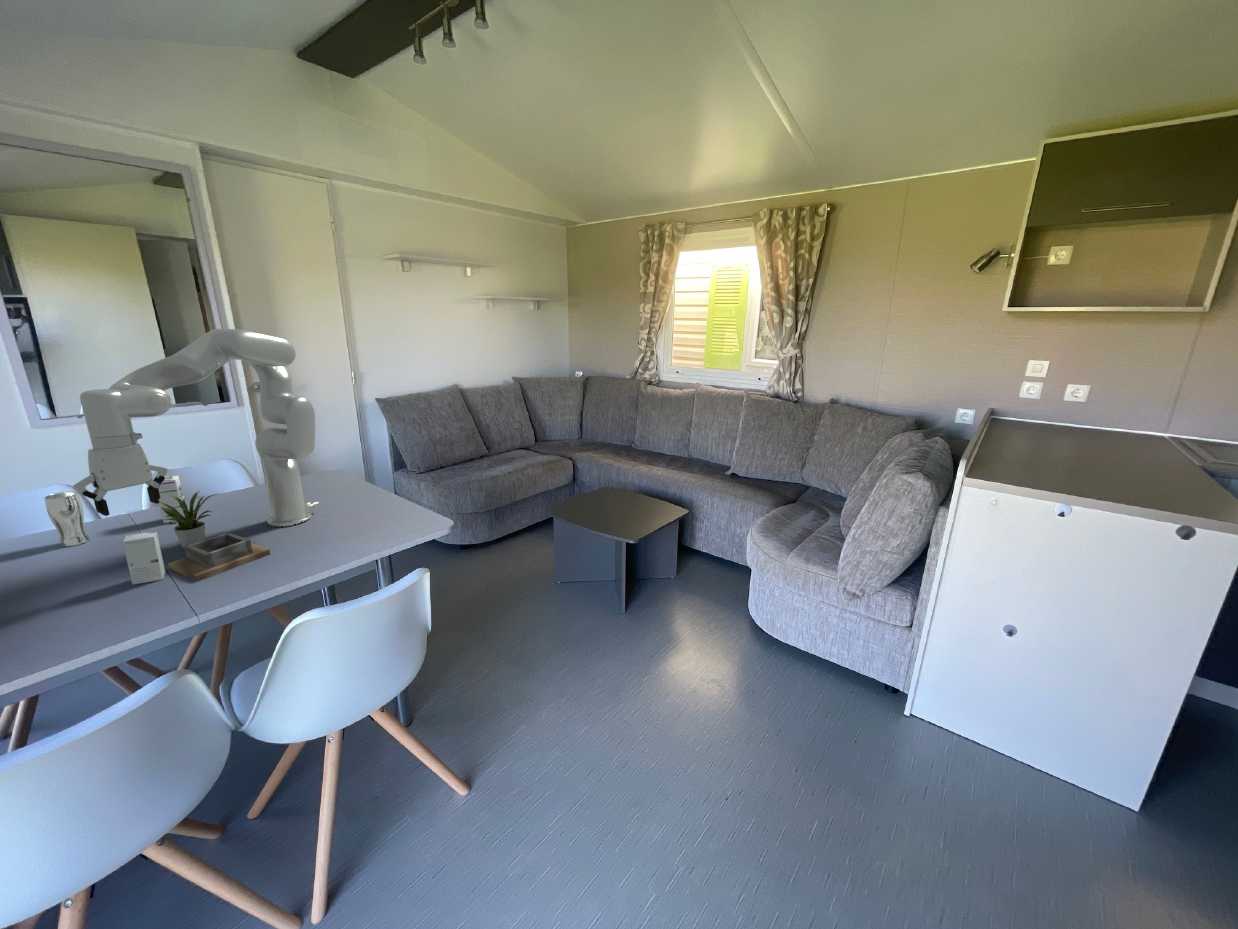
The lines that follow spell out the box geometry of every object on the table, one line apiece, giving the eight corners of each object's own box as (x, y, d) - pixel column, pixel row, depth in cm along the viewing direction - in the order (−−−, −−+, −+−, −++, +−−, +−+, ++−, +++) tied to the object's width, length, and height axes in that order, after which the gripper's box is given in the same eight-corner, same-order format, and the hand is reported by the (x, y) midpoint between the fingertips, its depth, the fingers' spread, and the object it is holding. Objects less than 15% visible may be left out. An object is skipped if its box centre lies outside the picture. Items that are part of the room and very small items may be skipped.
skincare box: (132, 585, 127) (120, 541, 123) (136, 578, 130) (124, 535, 127) (164, 579, 130) (153, 536, 126) (167, 572, 133) (156, 530, 130)
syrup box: (186, 520, 166) (176, 479, 162) (162, 524, 163) (152, 481, 159) (188, 514, 170) (179, 474, 166) (165, 518, 167) (155, 477, 163)
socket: (242, 543, 151) (238, 526, 149) (270, 554, 145) (267, 536, 143) (169, 568, 135) (165, 550, 134) (197, 581, 129) (193, 562, 128)
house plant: (224, 530, 160) (214, 481, 155) (232, 544, 150) (222, 493, 146) (165, 542, 150) (153, 491, 145) (169, 558, 141) (156, 504, 136)
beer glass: (96, 540, 150) (83, 493, 146) (64, 549, 144) (49, 500, 140) (85, 535, 153) (71, 489, 149) (53, 544, 147) (38, 496, 142)
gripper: (151, 433, 129) (165, 495, 133) (56, 446, 114) (76, 516, 118) (166, 436, 126) (180, 500, 130) (70, 451, 111) (90, 522, 115)
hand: (130, 508), depth 124 cm, fingers open, 9 cm apart
